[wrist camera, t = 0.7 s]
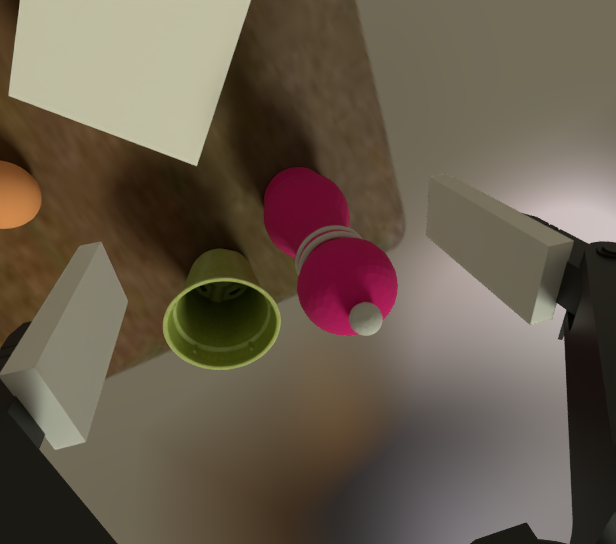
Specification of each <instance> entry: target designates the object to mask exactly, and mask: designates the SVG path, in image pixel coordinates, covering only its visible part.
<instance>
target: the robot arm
mask: <svg viewBox="0 0 616 544" xmlns="http://www.w3.org/2000/svg"><path fill="white" fill-rule="evenodd" d="M428 193H429V194H428V212H427V231H426V235H427V237H428V238H430V239H431V240H432V241H433V242H434V243H435V244H437V245H438V246H439V247H440V248H441V249H442V250H443V251H445V252H446V253H447V254H448V255H449V256H451V257H452V258H453V259H454V260H455V261H456V262H458V263H459V264H460V265H461V266H462V267H463V268H464V269H466V270H467V271H468V272H469V273H470V274H472V275H473V276H474V277H475V278H476V279H477V280H479V281H480V282H481V283H482V284H483V285H484V286H485V287H487V288H488V289H489V290H490V291H491V292H493V293H494V294H495V295H496V296H497V297H498V298H499V299H501V300H502V301H503V302H504V303H505V304H506V305H508V306H509V307H510V308H511V309H512V310H514V312H516V313H517V314H518V315H519V316H520V317H521V318H523V319H524V320H525V321H526V322H527V323H529V324H530V325H532V324H536V323H540V322H544V321H547V320H551V319H552V318H553V314H554V311H555V307H556V303H558V304H559V305H561V306H562V307H563V308H565V309H566V314H565V317H564V320H563V324H562V327H561V330H560V334H559V337H558V339H560V340H562V339H563V337H564V341H565V362H566V383H567V403H568V404H567V405H568V427H569V449H570V469H571V490H572V491H571V493H572V515H573V526H572V527H573V528H572V535H571V540H570V544H616V243H614V242H593V243H590V244H588V243H586V242H584V241H582V240H580V239H578V238H576V237H574V236H572V235H571V234H569V233H567V232H565V231H563V230H558V228H557V227H555V226H553V225H549V223H547V222H545V221H543V220H541V219H540V218H538V217H535V216H530V215H527V214H524V213H520V212H519V211H517V210H515V209H513V208H511V207H509V206H507V205H505V204H504V203H502V202H500V201H498V200H496V199H494V198H492V197H490V196H488V195H486V194H485V193H483V192H481V191H479V190H477V189H475V188H473V187H471V186H469V185H467V184H466V183H464V182H462V181H460V180H458V179H456V178H454V177H452V176H451V175H449V174H447V173H445V174H440V175H434V176H430V177H429V192H428ZM127 303H128V300H127V298H126V296H125V293H124V291H123V289H122V287H121V285H120V282H119V280H118V278H117V276H116V273H115V271H114V269H113V267H112V265H111V262H110V260H109V258H108V256H107V254H106V251H105V249H104V247H103V245H102V242H97V243H92V244H86V245H81V246H79V247H78V249H77V251H76V252H75V254H74V255H73V257H72V259H71V260H70V262H69V263H68V265H67V267H66V268H65V270H64V271H63V273H62V275H61V276H60V278H59V279H58V281H57V283H56V284H55V286H54V287H53V289H52V291H51V292H50V294H49V295H48V297H47V299H46V300H45V302H44V303H43V305H42V307H41V308H40V310H39V311H38V313H37V315H36V316H35V318H34V319H33V321H31V322H27V323H23V324H22V325H21V326H20V327H18V328H17V329H16V330H15V331H14V332H13V333H11V334H10V335H9V336H8V338H7V339H6V341H5V342H4V344H3V345H2V347H1V350H0V544H117V543H116V542H115V540H114V539H113V538H112V537H111V535H109V533H108V532H107V531H106V530H105V528H104V527H103V526H102V525H101V524H100V522H99V521H98V520H97V519H96V517H95V516H94V515H93V514H92V513H91V511H90V510H89V509H88V508H87V507H86V505H85V504H84V503H83V502H82V501H81V499H80V498H79V497H78V496H77V495H76V493H75V492H74V491H73V490H72V489H71V487H70V486H69V485H68V484H67V483H66V481H65V480H64V479H63V478H62V476H60V474H59V473H58V472H57V470H56V469H55V468H54V467H53V466H52V464H51V463H50V462H49V461H48V460H47V458H46V457H45V456H44V455H43V454H42V452H41V451H40V450H39V448H40V446H41V443H42V441H43V438H44V436H45V437H46V438H47V440H48V441H49V442H50V444H51V445H52V446H53V448H54V449H55V450H57V449H61V448H64V447H68V446H72V445H76V444H80V443H83V442H86V440H87V437H88V433H89V430H90V427H91V423H92V420H93V417H94V413H95V410H96V407H97V403H98V400H99V397H100V393H101V390H102V387H103V383H104V380H105V377H106V373H107V370H108V367H109V363H110V360H111V357H112V353H113V350H114V347H115V343H116V340H117V337H118V333H119V330H120V327H121V323H122V320H123V317H124V313H125V310H126V307H127ZM470 544H566V543H561V542H557V541H550V540H543V539H542V540H541V539H537V537H536V536H535V534H534V533H533V532H532V530H531V528H530V527H529V525H528V524H527V523H523V524H521V525H517V526H514V527H511V528H509V529H506V530H503V531H500V532H497V533H494V534H491V535H488V536H485V537H482V538H479V539H476V540H474V541H473V542H472V543H470Z"/></svg>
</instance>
